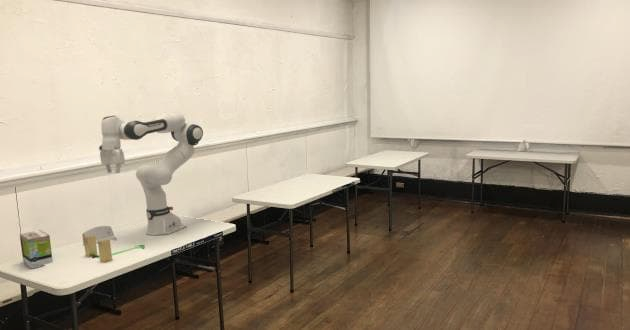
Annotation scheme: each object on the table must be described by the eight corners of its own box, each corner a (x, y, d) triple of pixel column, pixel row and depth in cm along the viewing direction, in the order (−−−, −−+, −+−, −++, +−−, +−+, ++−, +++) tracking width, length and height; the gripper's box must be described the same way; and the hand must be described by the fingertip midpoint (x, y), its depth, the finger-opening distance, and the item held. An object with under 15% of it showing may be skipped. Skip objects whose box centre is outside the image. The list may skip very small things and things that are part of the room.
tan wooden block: (107, 258, 249) (105, 238, 247) (112, 259, 247) (109, 240, 245) (100, 260, 246) (97, 241, 244) (104, 262, 243) (102, 242, 242)
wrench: (147, 249, 266) (142, 246, 269) (147, 245, 265) (142, 243, 269) (100, 262, 248) (95, 259, 251) (100, 258, 247) (95, 255, 251)
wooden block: (93, 253, 258) (91, 234, 256) (97, 254, 255) (95, 235, 254) (85, 255, 255) (83, 236, 253) (89, 257, 252) (87, 237, 251)
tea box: (54, 263, 249) (50, 234, 246) (31, 269, 242) (27, 239, 239) (44, 256, 259) (40, 228, 257) (22, 262, 253) (18, 233, 250)
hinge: (87, 248, 270) (82, 230, 271) (84, 249, 274) (79, 231, 274) (117, 239, 283) (112, 222, 283) (113, 241, 286) (109, 224, 286)
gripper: (126, 146, 263) (128, 172, 264) (108, 146, 277) (110, 171, 278) (115, 146, 259) (117, 173, 260) (97, 147, 273) (99, 172, 274)
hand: (113, 172), depth 269 cm, fingers open, 8 cm apart
